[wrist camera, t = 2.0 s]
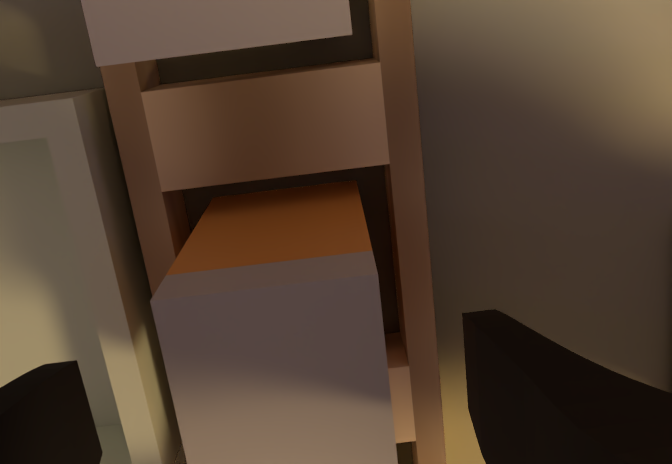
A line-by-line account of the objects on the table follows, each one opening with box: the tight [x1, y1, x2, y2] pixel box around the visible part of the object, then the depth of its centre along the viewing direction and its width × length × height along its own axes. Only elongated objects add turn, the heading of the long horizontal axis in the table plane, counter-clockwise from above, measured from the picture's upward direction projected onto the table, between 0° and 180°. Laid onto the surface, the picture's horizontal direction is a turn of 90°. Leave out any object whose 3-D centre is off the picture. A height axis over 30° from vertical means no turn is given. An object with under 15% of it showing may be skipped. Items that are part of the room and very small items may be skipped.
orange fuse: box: [150, 180, 398, 464], centre depth 15 cm, size 4×4×7 cm
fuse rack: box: [100, 0, 446, 464], centre depth 17 cm, size 7×23×2 cm, turn 7°
